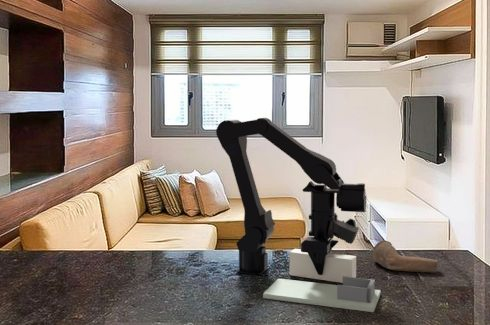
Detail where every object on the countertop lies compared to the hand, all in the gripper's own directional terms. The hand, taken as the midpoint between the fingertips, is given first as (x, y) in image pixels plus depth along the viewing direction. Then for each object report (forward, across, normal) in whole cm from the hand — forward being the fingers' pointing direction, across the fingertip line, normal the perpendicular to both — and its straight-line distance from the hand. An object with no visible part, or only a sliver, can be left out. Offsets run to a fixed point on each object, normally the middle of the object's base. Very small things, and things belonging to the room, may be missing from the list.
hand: (322, 272), depth 132 cm
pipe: (+2, +15, -18) cm, 24 cm away
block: (+1, 0, 0) cm, 1 cm away
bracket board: (+1, -13, -3) cm, 13 cm away
